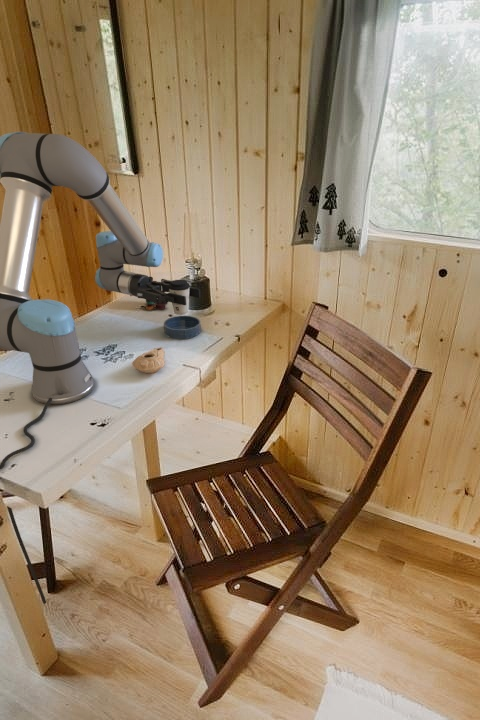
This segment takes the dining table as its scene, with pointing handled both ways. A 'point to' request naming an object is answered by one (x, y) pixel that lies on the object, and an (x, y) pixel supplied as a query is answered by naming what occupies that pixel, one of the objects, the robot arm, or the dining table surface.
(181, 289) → the coffee cup
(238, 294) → the dining table surface
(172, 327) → the bowl
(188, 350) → the dining table surface
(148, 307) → the green and brown piece
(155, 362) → the pottery oil lamp
